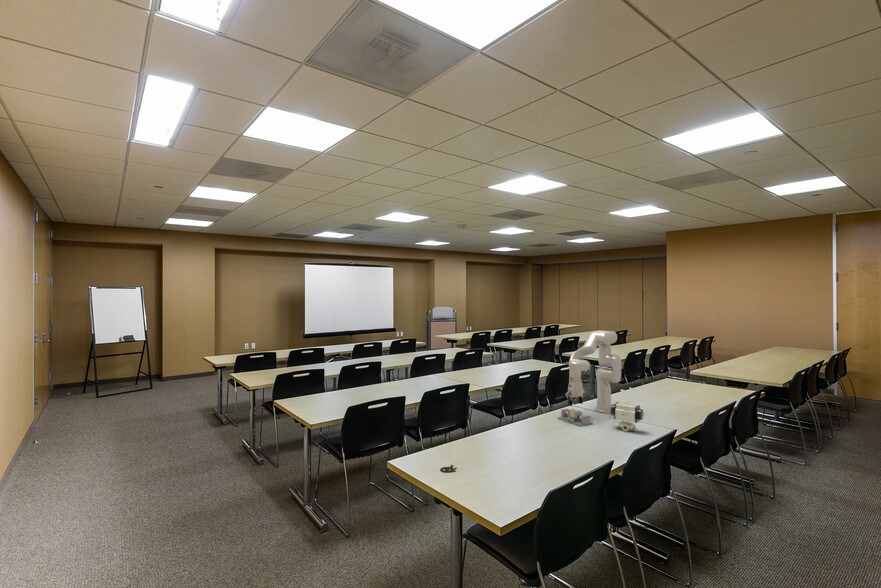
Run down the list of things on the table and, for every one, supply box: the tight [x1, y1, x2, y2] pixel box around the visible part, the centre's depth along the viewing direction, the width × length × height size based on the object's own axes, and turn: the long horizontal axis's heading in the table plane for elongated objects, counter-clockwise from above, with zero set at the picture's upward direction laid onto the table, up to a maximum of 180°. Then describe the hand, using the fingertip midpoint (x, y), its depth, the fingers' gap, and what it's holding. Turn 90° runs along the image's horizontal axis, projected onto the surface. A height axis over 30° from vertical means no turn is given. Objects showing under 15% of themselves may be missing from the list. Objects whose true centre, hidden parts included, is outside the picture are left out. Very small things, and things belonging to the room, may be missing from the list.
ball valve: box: [610, 401, 644, 432], centre depth 269 cm, size 18×8×18 cm, turn 50°
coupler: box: [568, 408, 583, 422], centre depth 287 cm, size 8×5×6 cm, turn 29°
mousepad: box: [439, 464, 457, 474], centre depth 206 cm, size 9×8×1 cm
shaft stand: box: [557, 408, 594, 428], centre depth 287 cm, size 20×12×6 cm, turn 29°
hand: (575, 404), depth 287 cm, fingers open, 9 cm apart
